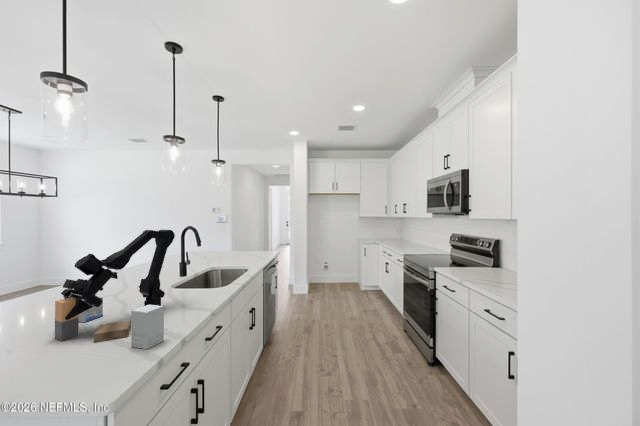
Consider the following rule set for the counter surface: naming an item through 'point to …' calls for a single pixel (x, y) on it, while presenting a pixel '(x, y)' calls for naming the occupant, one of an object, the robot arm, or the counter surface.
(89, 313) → the medicine box
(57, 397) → the counter surface
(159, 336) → the supplement box
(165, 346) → the counter surface
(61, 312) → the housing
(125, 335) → the walnut stand
